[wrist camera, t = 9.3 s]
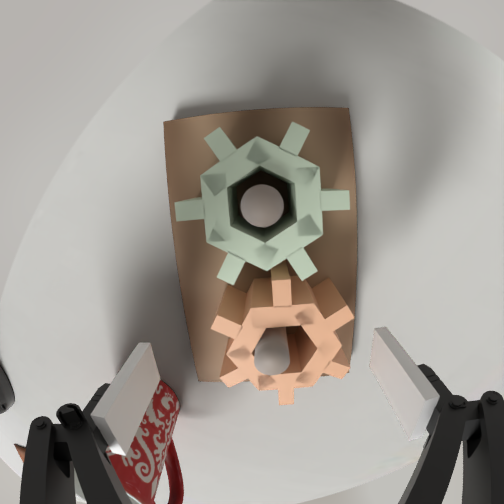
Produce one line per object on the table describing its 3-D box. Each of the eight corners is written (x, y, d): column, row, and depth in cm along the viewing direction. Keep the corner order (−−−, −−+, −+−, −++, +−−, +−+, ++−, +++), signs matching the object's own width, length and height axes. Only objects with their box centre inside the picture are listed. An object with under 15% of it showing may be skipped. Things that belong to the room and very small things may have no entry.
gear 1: (203, 263, 20) (185, 287, 15) (192, 145, 18) (169, 134, 14) (330, 254, 20) (350, 277, 15) (324, 136, 18) (343, 121, 13)
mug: (93, 375, 25) (30, 457, 12) (150, 350, 24) (83, 459, 11) (163, 447, 28) (133, 533, 15) (223, 434, 26) (206, 538, 13)
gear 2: (261, 377, 22) (260, 418, 18) (199, 303, 21) (182, 336, 16) (356, 322, 21) (377, 357, 16) (302, 235, 20) (314, 252, 15)
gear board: (201, 371, 24) (183, 429, 17) (170, 125, 20) (126, 101, 12) (345, 363, 24) (367, 420, 16) (343, 112, 19) (379, 81, 11)
